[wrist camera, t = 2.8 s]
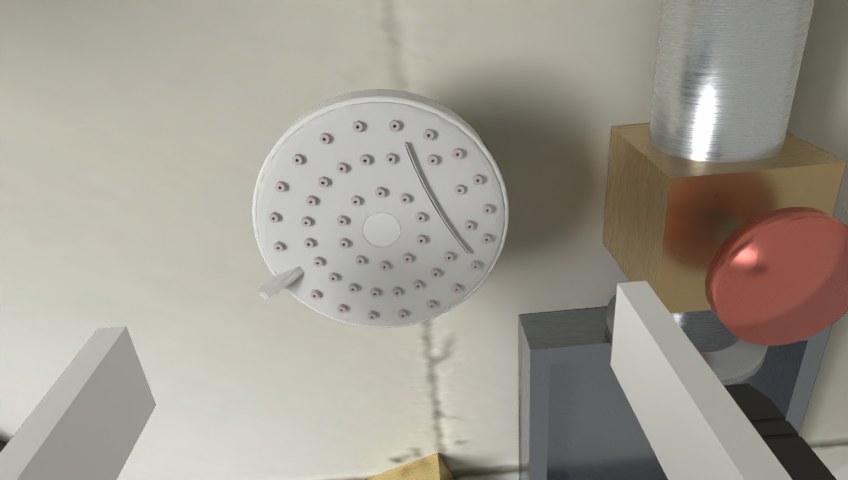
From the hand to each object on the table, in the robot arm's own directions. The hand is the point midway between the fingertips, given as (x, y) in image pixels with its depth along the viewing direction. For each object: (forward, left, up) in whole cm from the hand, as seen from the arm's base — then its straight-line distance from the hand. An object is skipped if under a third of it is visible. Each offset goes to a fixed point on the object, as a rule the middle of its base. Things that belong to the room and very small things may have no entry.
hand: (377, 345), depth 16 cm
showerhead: (0, 0, -13) cm, 13 cm away
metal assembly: (+14, -7, -13) cm, 20 cm away
